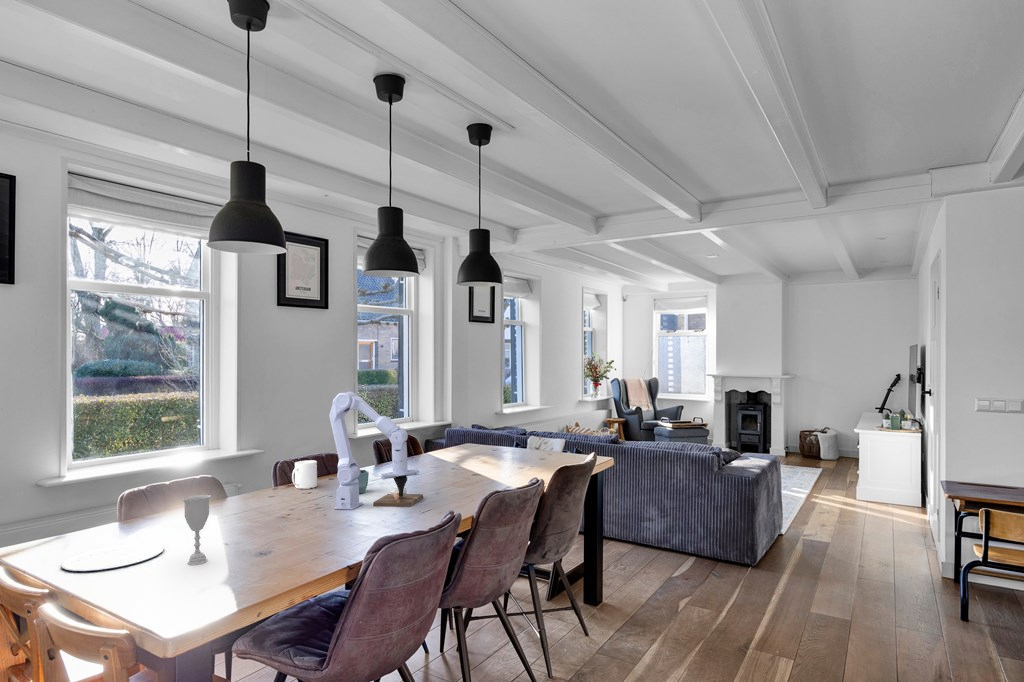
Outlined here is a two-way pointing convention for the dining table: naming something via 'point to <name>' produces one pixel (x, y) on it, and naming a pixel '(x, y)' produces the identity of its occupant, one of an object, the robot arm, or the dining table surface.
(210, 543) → the dining table surface
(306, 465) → the mug
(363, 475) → the flower pot
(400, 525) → the dining table surface
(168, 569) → the dining table surface
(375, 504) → the strip board
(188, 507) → the chalice
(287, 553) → the dining table surface
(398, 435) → the robot arm
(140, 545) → the plate
